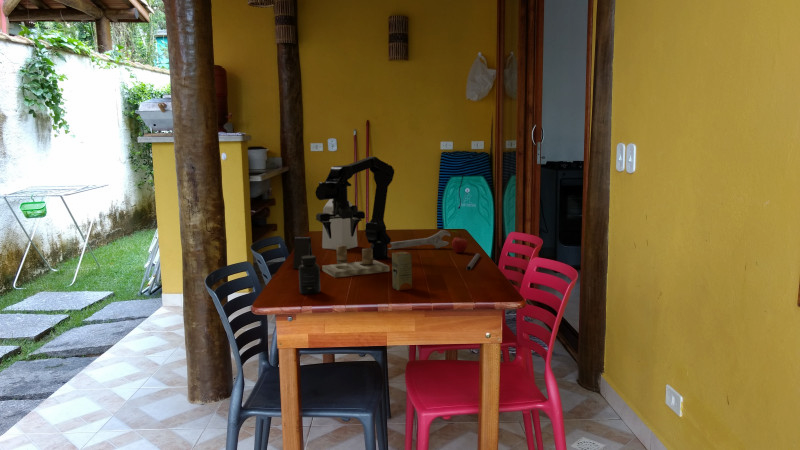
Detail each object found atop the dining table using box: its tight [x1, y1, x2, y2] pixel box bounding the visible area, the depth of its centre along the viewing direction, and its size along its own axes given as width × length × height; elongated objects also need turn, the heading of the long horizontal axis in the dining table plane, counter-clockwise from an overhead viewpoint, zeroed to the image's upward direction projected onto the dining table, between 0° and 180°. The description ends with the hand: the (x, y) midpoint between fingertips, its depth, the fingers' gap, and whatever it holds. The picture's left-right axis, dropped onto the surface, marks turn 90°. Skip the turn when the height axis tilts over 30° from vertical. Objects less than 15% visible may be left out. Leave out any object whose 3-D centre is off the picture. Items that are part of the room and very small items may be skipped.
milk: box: [321, 199, 358, 251], centre depth 290 cm, size 12×12×26 cm
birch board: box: [321, 259, 390, 278], centre depth 238 cm, size 22×14×2 cm, turn 116°
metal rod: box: [465, 253, 481, 271], centre depth 250 cm, size 2×27×2 cm, turn 166°
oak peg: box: [336, 245, 348, 264], centre depth 247 cm, size 4×4×8 cm
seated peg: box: [361, 247, 374, 266], centre depth 239 cm, size 4×4×8 cm
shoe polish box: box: [391, 250, 413, 291], centre depth 208 cm, size 5×5×12 cm
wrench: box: [387, 229, 451, 250], centre depth 285 cm, size 8×2×30 cm
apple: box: [450, 229, 468, 254], centre depth 272 cm, size 8×7×10 cm
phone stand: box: [292, 236, 314, 270], centre depth 246 cm, size 9×6×12 cm, turn 174°
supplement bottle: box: [298, 255, 321, 296], centre depth 204 cm, size 7×7×12 cm
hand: (341, 237), depth 246 cm, fingers open, 9 cm apart
